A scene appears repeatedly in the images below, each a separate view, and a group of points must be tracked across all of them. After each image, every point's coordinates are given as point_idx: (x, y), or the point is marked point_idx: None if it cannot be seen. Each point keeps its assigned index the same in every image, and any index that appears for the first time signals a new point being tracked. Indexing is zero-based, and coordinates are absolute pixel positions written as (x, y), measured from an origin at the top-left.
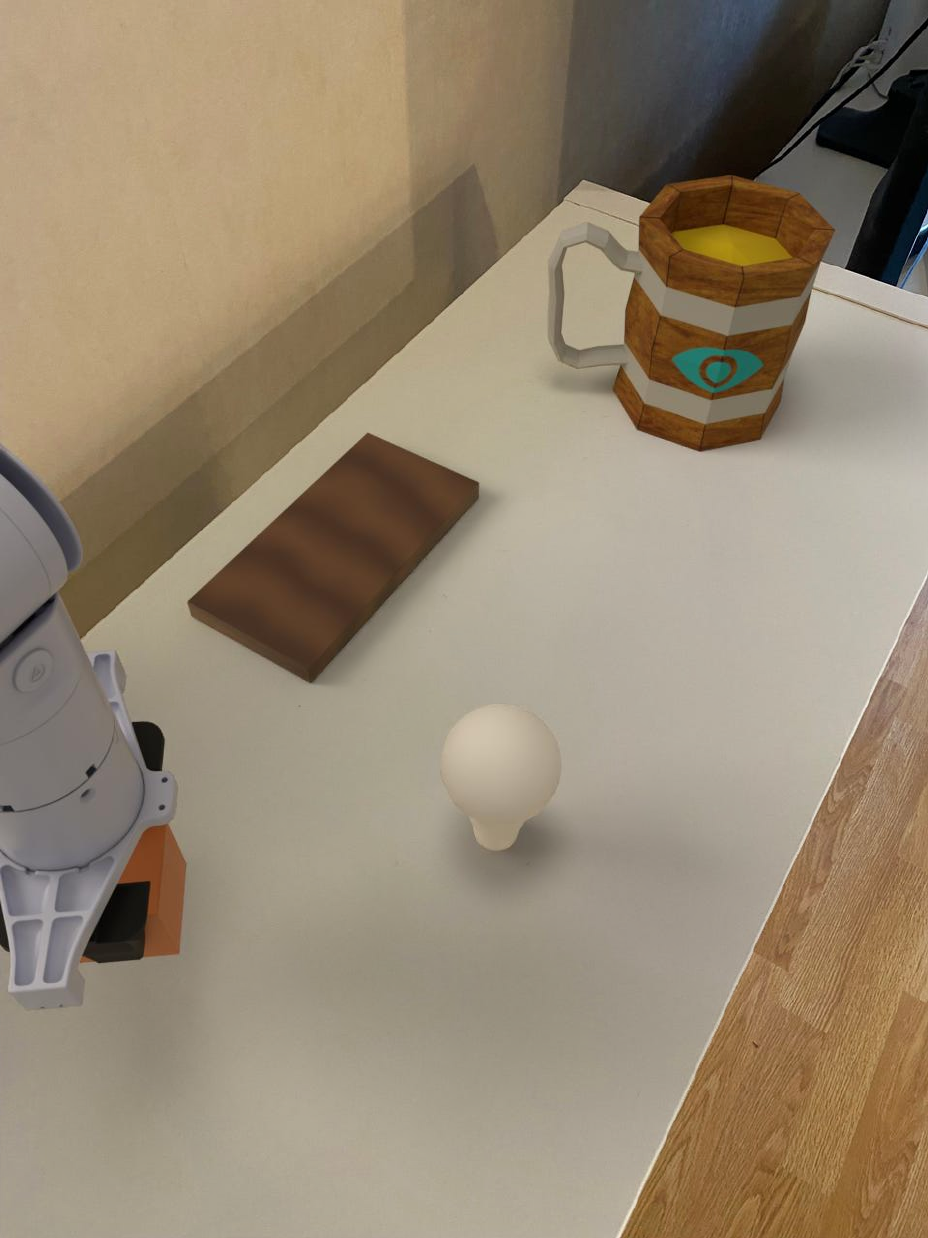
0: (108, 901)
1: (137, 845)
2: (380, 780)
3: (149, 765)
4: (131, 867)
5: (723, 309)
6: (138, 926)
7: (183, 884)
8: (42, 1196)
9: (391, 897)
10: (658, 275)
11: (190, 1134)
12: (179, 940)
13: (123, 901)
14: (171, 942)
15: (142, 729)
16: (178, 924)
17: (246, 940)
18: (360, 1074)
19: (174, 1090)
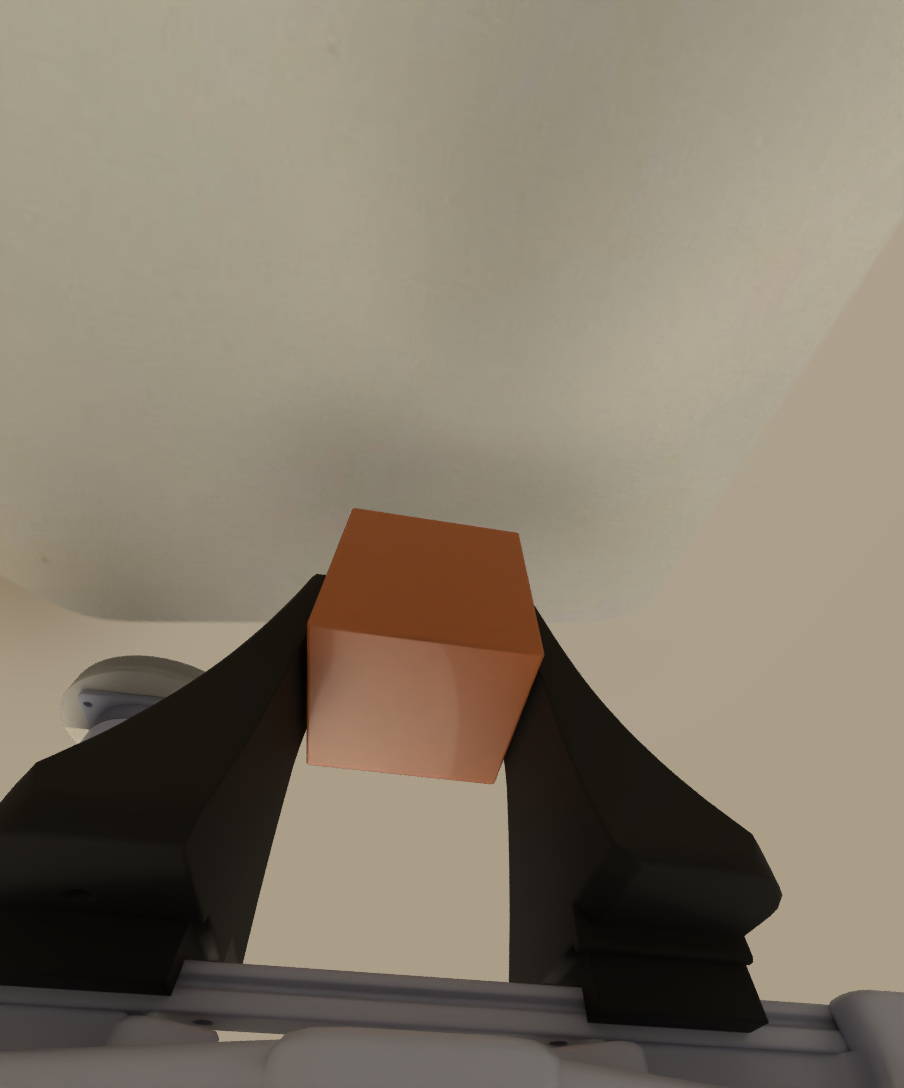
0: (640, 922)
1: (367, 674)
2: (132, 38)
3: (172, 867)
4: (418, 687)
5: None
6: (766, 889)
7: (399, 521)
8: (625, 601)
9: (403, 86)
10: None
11: (637, 475)
12: (500, 534)
13: (662, 905)
14: (524, 564)
15: (5, 873)
16: (478, 539)
17: (424, 380)
18: (676, 235)
19: (583, 487)
